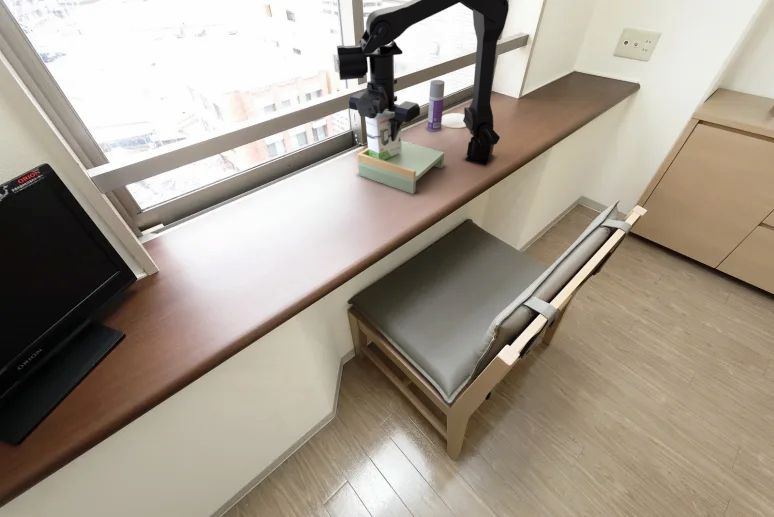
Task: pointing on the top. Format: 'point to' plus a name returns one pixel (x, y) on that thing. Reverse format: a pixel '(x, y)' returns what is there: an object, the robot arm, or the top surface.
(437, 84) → the container
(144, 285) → the top surface
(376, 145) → the ink box
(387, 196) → the top surface
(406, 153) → the shelf
